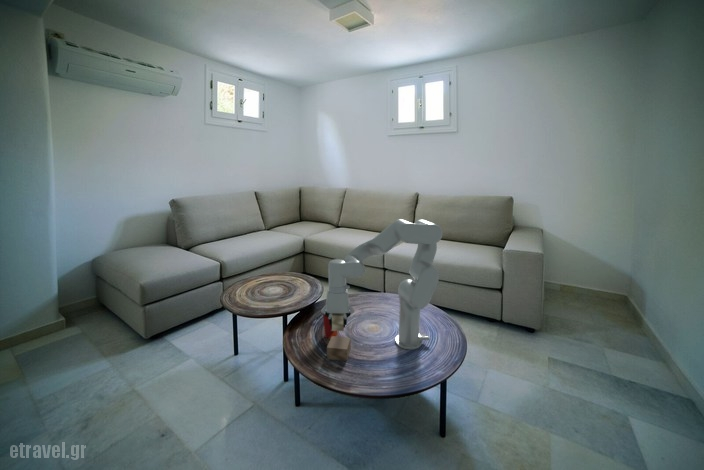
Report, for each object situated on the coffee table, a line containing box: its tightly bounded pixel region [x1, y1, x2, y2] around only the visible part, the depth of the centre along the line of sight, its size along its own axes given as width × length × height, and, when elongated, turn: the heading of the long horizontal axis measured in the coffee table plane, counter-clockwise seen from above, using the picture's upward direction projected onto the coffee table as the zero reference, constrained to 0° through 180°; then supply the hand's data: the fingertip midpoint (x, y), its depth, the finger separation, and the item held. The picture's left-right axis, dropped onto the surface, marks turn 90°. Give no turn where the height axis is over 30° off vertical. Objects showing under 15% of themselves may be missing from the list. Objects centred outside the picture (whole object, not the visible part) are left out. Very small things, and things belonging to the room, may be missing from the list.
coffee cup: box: [322, 313, 338, 339], centre depth 151 cm, size 8×8×15 cm
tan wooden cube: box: [326, 336, 352, 362], centre depth 137 cm, size 9×9×6 cm
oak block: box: [332, 313, 344, 332], centre depth 134 cm, size 5×5×7 cm
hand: (338, 325), depth 134 cm, fingers closed on oak block, 5 cm apart
